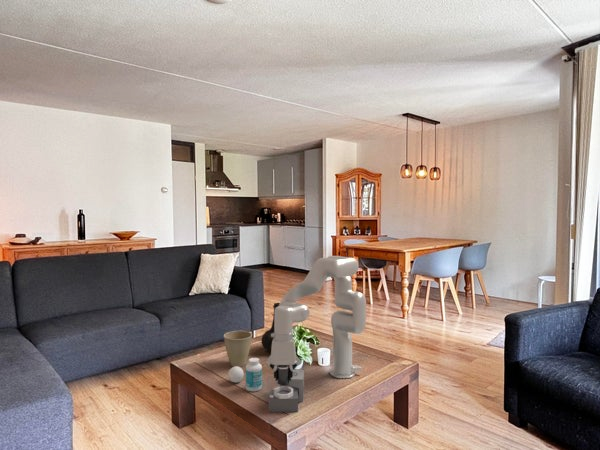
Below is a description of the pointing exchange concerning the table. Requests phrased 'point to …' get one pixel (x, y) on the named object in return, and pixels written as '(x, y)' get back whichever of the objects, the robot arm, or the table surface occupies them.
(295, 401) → the grey ring-top block
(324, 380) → the table surface
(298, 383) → the icon cube
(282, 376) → the lens
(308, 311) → the robot arm
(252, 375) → the pill bottle
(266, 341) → the glass bottle
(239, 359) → the plant pot
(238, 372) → the white ovoid
